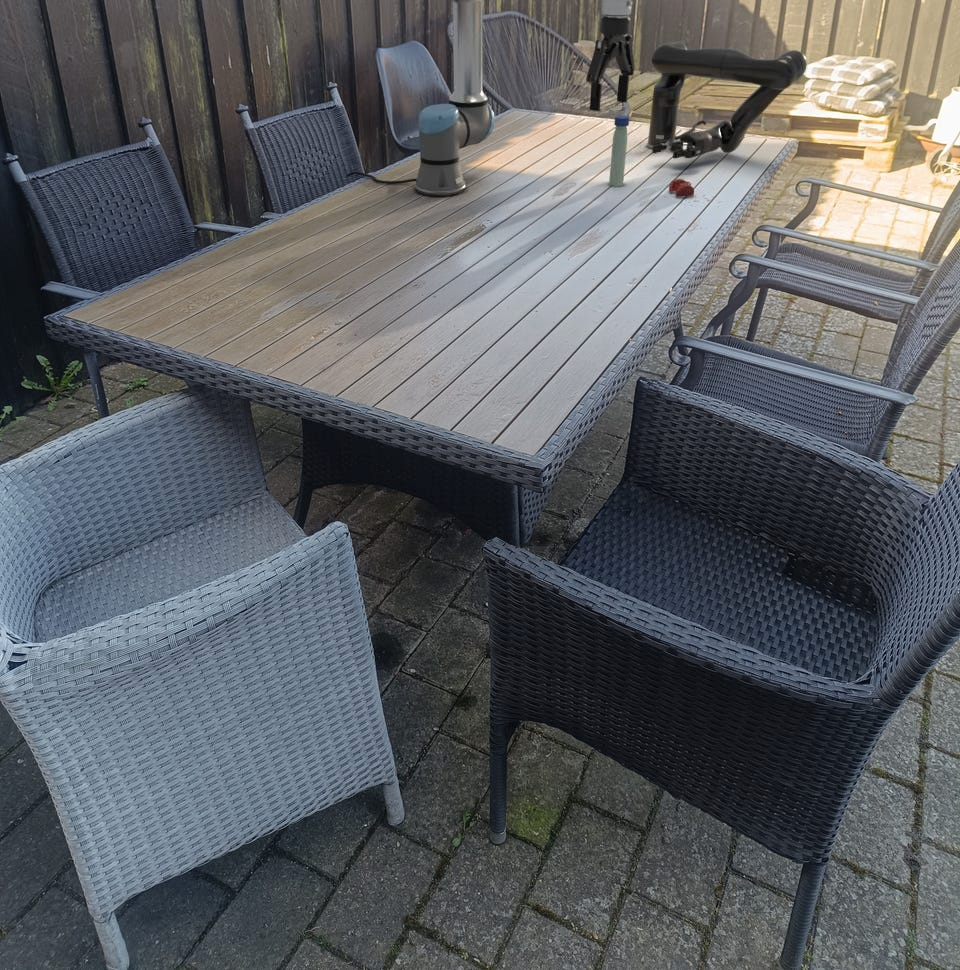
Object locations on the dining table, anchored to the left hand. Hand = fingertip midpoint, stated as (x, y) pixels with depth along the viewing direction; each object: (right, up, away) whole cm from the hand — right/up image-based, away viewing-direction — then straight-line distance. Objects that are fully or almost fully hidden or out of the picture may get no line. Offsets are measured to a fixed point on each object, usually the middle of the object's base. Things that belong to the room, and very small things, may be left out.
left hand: (608, 106), depth 226 cm
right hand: (+24, +5, +44) cm, 51 cm away
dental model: (+26, -14, +29) cm, 41 cm away
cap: (+8, +8, +26) cm, 28 cm away
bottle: (+8, -8, +37) cm, 39 cm away
